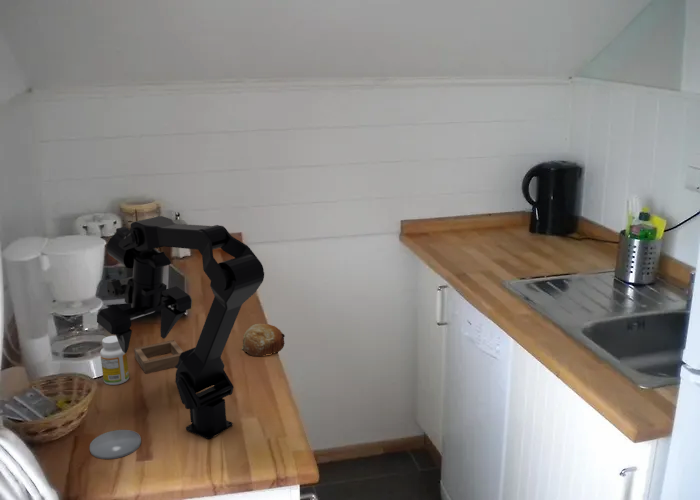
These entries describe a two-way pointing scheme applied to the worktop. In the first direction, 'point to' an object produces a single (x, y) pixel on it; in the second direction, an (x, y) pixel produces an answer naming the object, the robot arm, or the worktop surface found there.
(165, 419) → the worktop surface
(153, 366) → the rectangular wooden frame
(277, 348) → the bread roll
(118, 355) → the supplement bottle
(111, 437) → the slate coaster
